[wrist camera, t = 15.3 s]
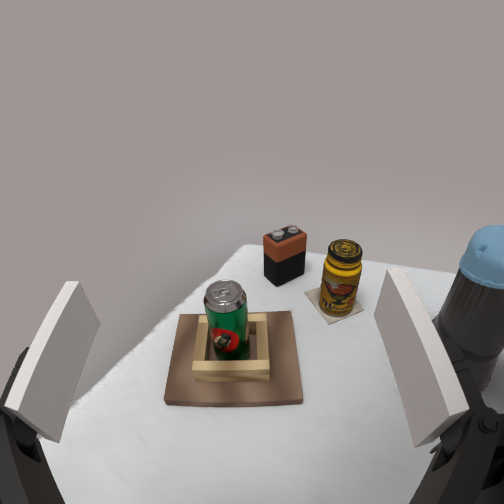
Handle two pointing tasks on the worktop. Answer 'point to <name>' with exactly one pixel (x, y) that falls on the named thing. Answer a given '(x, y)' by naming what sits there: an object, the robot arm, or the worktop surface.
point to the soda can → (228, 320)
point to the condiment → (339, 282)
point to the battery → (284, 254)
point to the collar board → (235, 365)
